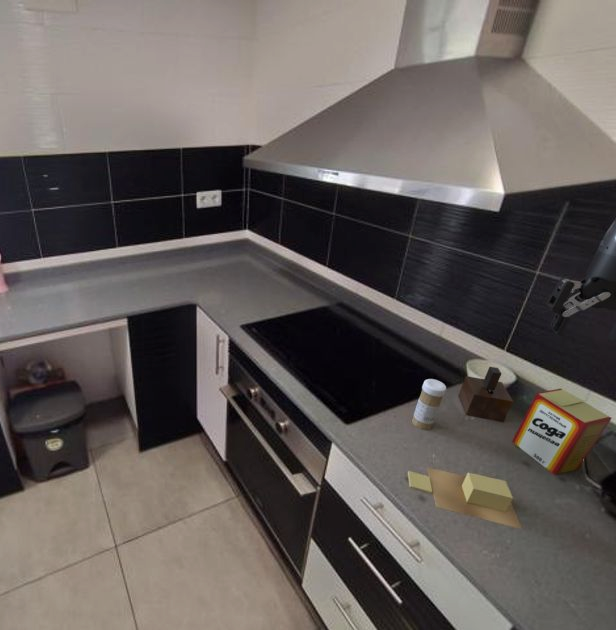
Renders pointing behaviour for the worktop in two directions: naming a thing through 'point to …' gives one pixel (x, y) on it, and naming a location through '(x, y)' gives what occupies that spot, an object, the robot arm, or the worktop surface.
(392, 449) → the worktop surface
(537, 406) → the baking soda box
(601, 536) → the worktop surface
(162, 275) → the worktop surface
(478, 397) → the knife block
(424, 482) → the butter slice
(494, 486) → the butter block
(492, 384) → the knife
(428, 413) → the sprinkles bottle
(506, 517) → the butter board
